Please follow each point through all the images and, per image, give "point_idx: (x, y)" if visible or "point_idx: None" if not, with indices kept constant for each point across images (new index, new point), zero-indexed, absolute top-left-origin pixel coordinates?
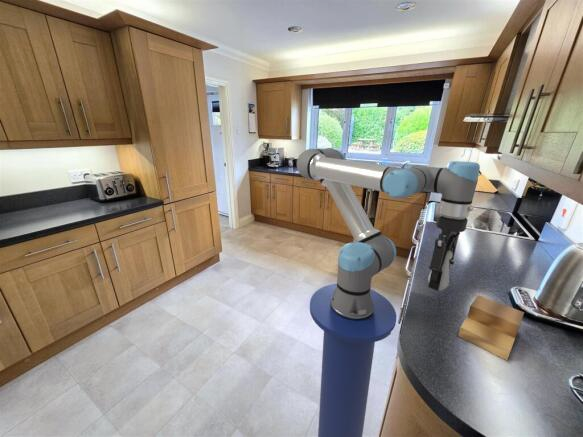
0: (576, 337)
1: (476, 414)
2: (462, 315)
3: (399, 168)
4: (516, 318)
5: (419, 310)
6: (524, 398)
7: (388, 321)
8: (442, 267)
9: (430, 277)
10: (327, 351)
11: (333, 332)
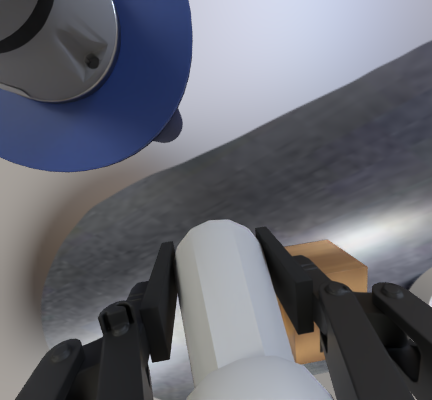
0: None
1: None
2: (303, 229)
3: None
4: (322, 353)
5: (234, 161)
6: (169, 363)
7: (103, 147)
8: (151, 393)
9: (153, 270)
10: None
11: None
